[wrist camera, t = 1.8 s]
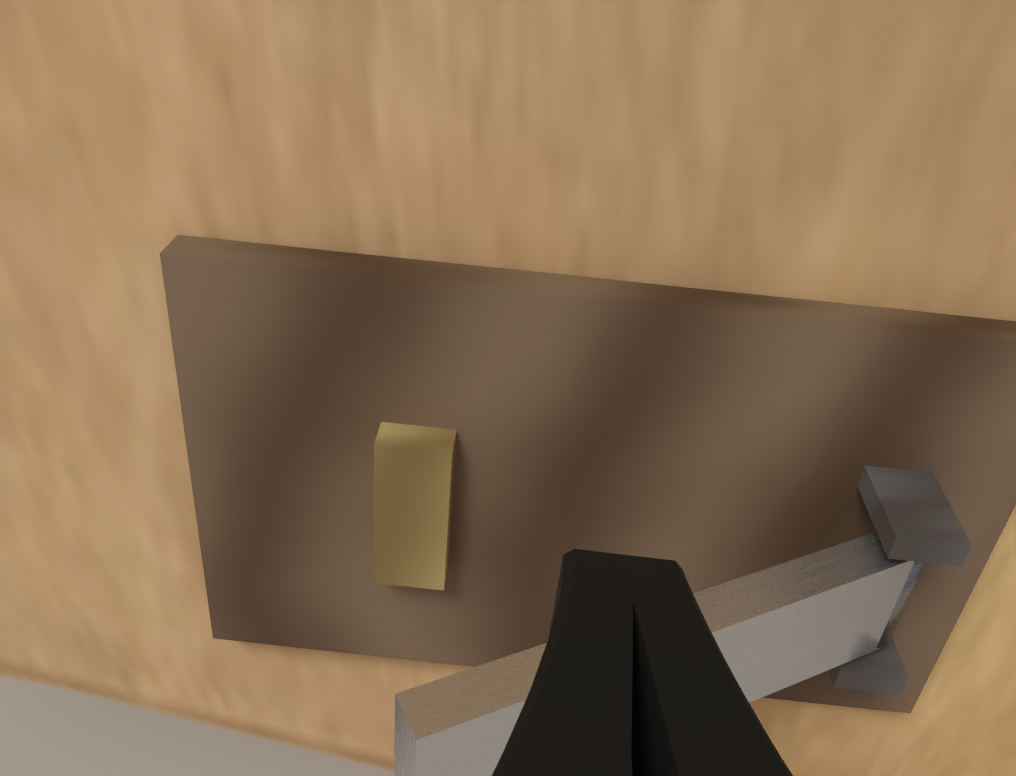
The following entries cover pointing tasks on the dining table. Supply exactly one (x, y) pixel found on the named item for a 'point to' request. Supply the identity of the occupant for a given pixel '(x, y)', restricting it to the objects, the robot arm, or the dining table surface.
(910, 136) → the dining table surface
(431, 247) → the dining table surface
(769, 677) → the strap
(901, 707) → the base board
